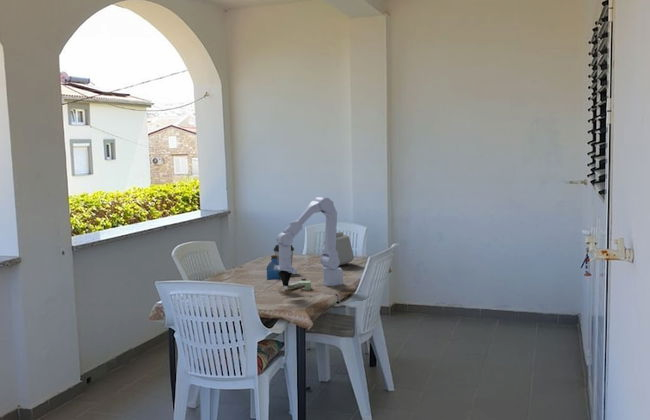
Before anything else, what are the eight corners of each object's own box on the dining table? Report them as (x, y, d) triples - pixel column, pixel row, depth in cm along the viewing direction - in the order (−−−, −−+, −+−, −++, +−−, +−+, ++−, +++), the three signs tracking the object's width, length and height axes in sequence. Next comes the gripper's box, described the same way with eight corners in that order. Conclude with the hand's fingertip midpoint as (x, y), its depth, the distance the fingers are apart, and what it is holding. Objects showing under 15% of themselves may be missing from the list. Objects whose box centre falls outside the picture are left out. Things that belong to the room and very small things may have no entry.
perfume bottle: (271, 277, 321) (270, 254, 320) (282, 277, 319) (281, 255, 318) (267, 279, 315) (266, 256, 314) (278, 280, 313) (277, 257, 312)
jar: (319, 267, 345) (318, 223, 342) (323, 262, 359) (322, 220, 357) (352, 267, 342) (352, 223, 339) (355, 262, 356) (354, 220, 354)
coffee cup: (277, 270, 339) (276, 243, 338) (297, 270, 337) (296, 243, 335) (271, 274, 328) (270, 246, 327) (291, 274, 326) (291, 247, 324)
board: (309, 286, 298) (309, 276, 297) (321, 293, 282) (321, 283, 281) (272, 289, 291) (272, 280, 291) (281, 297, 275) (281, 287, 275)
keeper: (299, 287, 289) (299, 280, 289) (311, 287, 288) (310, 280, 288) (298, 290, 285) (297, 282, 284) (309, 290, 284) (309, 282, 284)
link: (303, 284, 296) (303, 279, 296) (309, 284, 294) (308, 280, 293) (282, 289, 284) (282, 285, 284) (288, 290, 282) (288, 286, 282)
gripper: (268, 257, 287) (269, 285, 288) (288, 261, 276) (289, 290, 278) (280, 255, 292) (281, 283, 293) (300, 259, 281) (300, 288, 283)
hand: (285, 286), depth 286 cm, fingers closed
